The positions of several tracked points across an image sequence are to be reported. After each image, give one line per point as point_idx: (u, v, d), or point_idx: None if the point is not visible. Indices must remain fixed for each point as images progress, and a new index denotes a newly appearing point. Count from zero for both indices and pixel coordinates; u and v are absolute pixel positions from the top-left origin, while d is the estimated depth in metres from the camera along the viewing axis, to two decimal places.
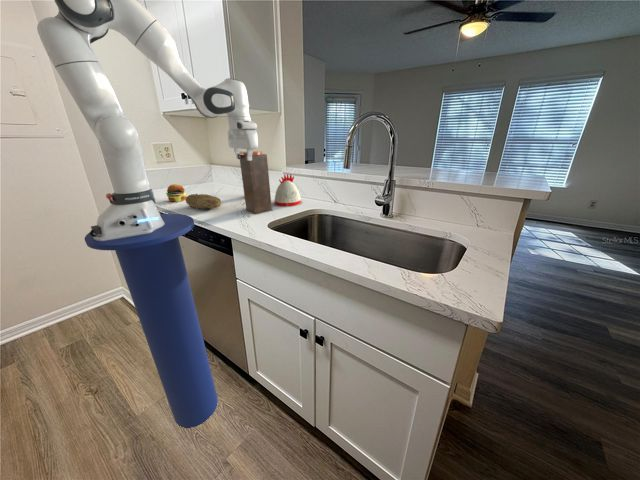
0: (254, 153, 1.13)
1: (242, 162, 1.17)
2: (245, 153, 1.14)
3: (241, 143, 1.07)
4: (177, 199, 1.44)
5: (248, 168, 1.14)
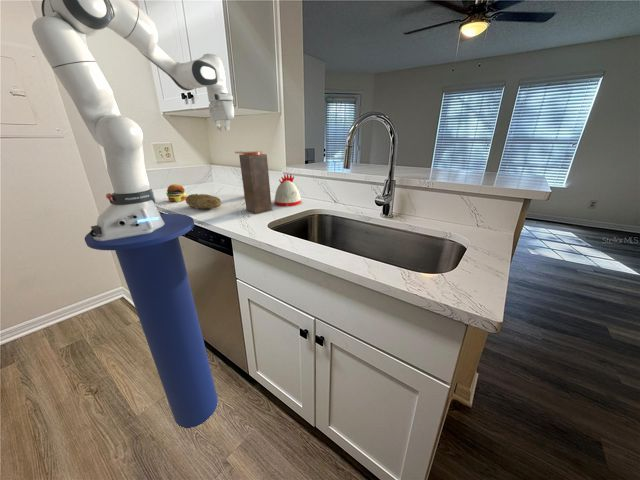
0: (254, 153, 1.13)
1: (242, 162, 1.17)
2: (245, 153, 1.14)
3: (219, 114, 1.19)
4: (177, 199, 1.44)
5: (248, 168, 1.14)
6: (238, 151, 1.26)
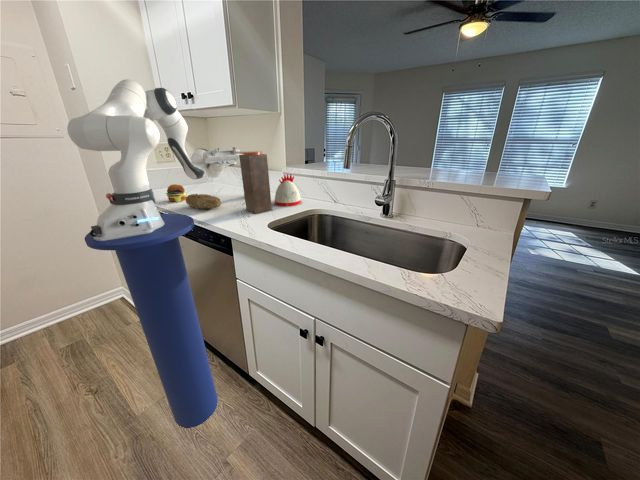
0: (254, 153, 1.13)
1: (242, 162, 1.17)
2: (245, 153, 1.14)
3: None
4: (177, 199, 1.44)
5: (248, 168, 1.14)
6: (238, 151, 1.26)
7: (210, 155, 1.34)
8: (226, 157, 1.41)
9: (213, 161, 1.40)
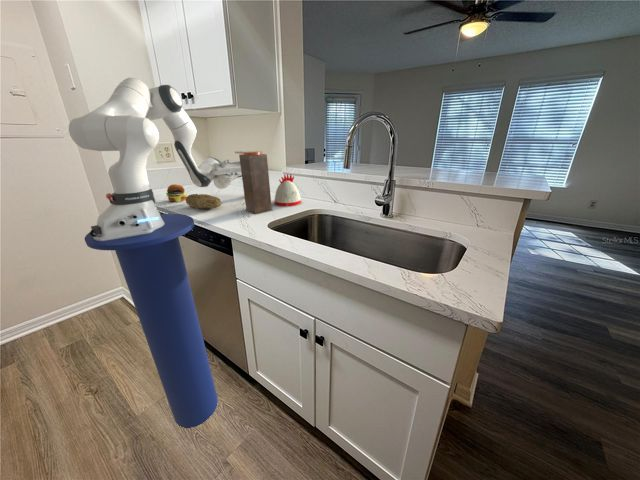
0: (254, 153, 1.13)
1: (242, 162, 1.17)
2: (245, 153, 1.14)
3: None
4: (177, 199, 1.44)
5: (248, 168, 1.14)
6: (238, 151, 1.26)
7: (219, 167, 1.29)
8: (235, 168, 1.36)
9: (222, 173, 1.35)
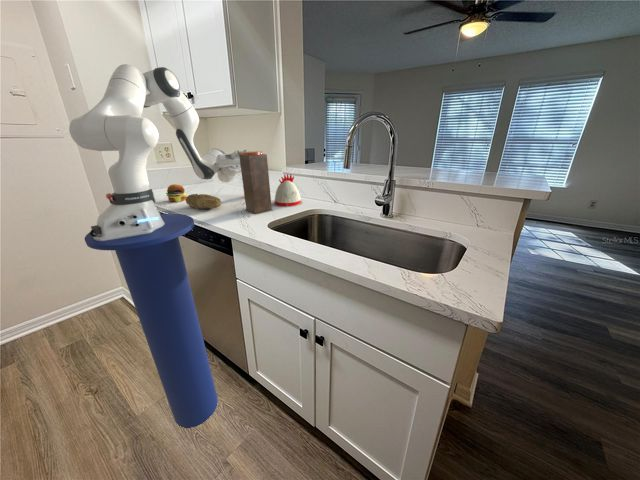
0: (254, 153, 1.13)
1: (242, 162, 1.17)
2: (245, 153, 1.14)
3: None
4: (177, 199, 1.44)
5: (248, 168, 1.14)
6: None
7: (224, 158, 1.23)
8: None
9: (227, 165, 1.29)
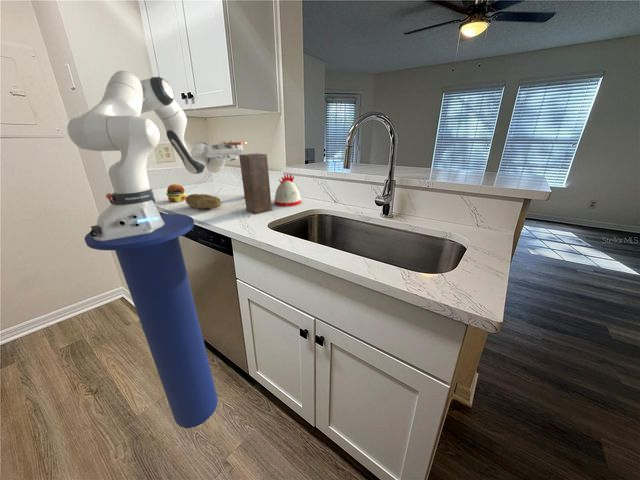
0: (238, 143, 1.22)
1: (242, 162, 1.17)
2: (229, 143, 1.22)
3: None
4: (177, 199, 1.44)
5: (248, 168, 1.14)
6: None
7: (211, 149, 1.31)
8: (227, 151, 1.38)
9: (214, 155, 1.37)
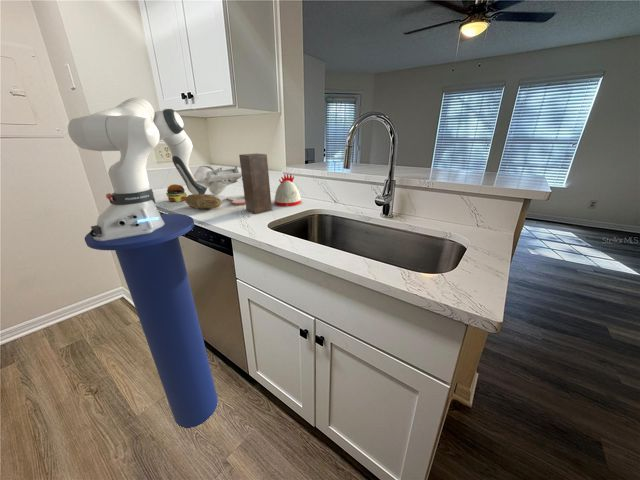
0: (241, 203, 1.37)
1: (242, 162, 1.17)
2: (234, 203, 1.37)
3: None
4: (177, 199, 1.44)
5: (248, 168, 1.14)
6: (229, 197, 1.49)
7: (213, 174, 1.38)
8: (228, 175, 1.45)
9: (216, 179, 1.44)
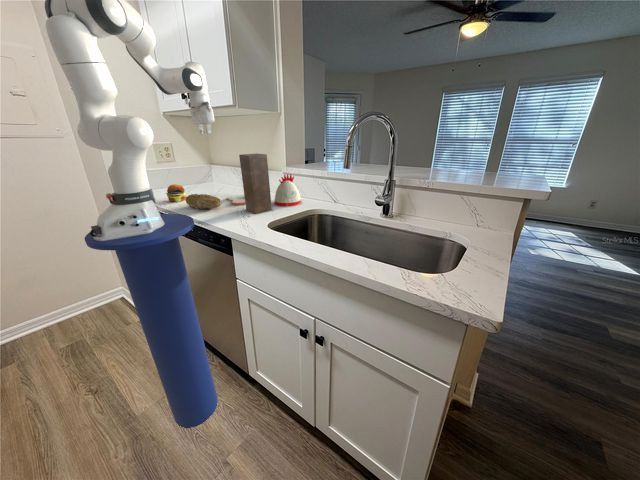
0: (241, 203, 1.37)
1: (242, 162, 1.17)
2: (234, 203, 1.37)
3: None
4: (177, 199, 1.44)
5: (248, 168, 1.14)
6: (229, 197, 1.49)
7: (208, 122, 1.24)
8: (198, 120, 1.29)
9: (202, 110, 1.23)
